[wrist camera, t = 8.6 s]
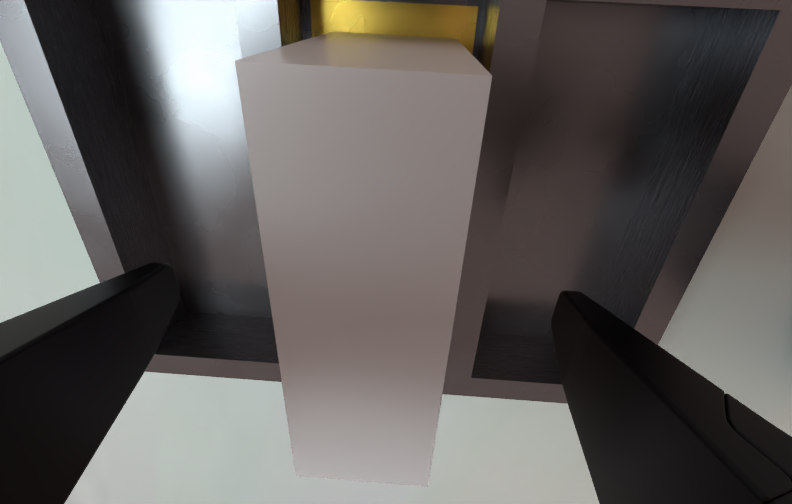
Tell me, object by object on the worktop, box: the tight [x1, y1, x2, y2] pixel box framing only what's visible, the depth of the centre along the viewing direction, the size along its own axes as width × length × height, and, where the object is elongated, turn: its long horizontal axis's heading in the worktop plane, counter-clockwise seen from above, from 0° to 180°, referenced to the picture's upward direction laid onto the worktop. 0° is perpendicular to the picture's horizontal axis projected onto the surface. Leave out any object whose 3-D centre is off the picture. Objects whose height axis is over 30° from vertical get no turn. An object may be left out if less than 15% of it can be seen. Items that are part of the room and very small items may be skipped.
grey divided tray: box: [0, 0, 792, 403], centre depth 13 cm, size 19×14×3 cm
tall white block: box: [235, 31, 492, 487], centre depth 11 cm, size 10×4×7 cm, turn 177°
